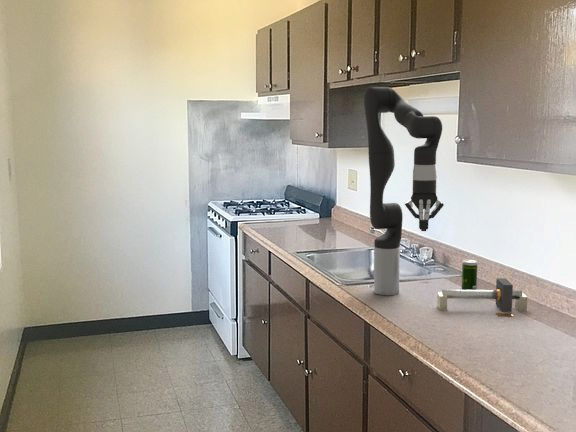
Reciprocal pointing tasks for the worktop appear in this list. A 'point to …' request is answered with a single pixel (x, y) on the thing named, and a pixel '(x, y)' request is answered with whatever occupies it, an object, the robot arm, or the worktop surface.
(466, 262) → the beer can
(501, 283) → the collar
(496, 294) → the pipe
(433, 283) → the worktop surface
